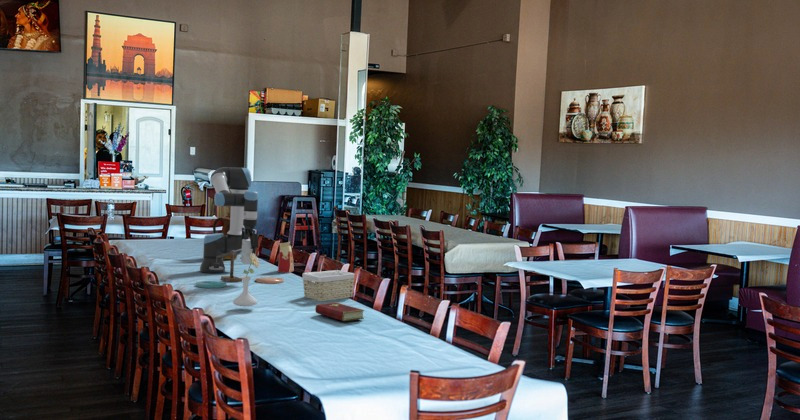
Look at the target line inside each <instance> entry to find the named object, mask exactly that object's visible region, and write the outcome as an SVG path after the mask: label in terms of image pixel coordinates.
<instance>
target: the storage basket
mask: <svg viewBox="0 0 800 420" xmlns="http://www.w3.org/2000/svg"><path fill="white" fill-rule="evenodd" d="M302 282H303V293H304V294H303V295H304V298H307V299H311V300H314V301H317V302H325V301H327V302H328V301H333V300H334V301H335V300H340V299H347V298H353V293H354V283H355V273H354V272H349V271H345V270H340V269H339V270H338V269H335V270H325V271H311V272H303V273H302Z"/></svg>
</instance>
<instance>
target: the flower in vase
mask: <svg viewBox="0 0 800 420" xmlns="http://www.w3.org/2000/svg"><path fill="white" fill-rule="evenodd" d="M250 260H251V264H249V267H248V270H246V269H244V270H243V274H245V275H242V276H240V278H242V284H243V286H242V287H243V289H242V292H241V293H240V294H239V295H237V296H236V298H234V299H233V300H232V304H233V305H235V306H239V307H252V306H255V305H257V304H258V300H257V299H256V298H255V297H254V296H253V295H251V294H250V292H249V284H250V281H251V279H252V276H250V275H249V273H250V274H254V273H255V270H254V269H253V268H251V266H253V267H255V268H256V269H259V267H261V266H260V261H259V259H258V256H257V255H256V257H255V254H254V253H253V254H252V253H251V254H250Z"/></svg>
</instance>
